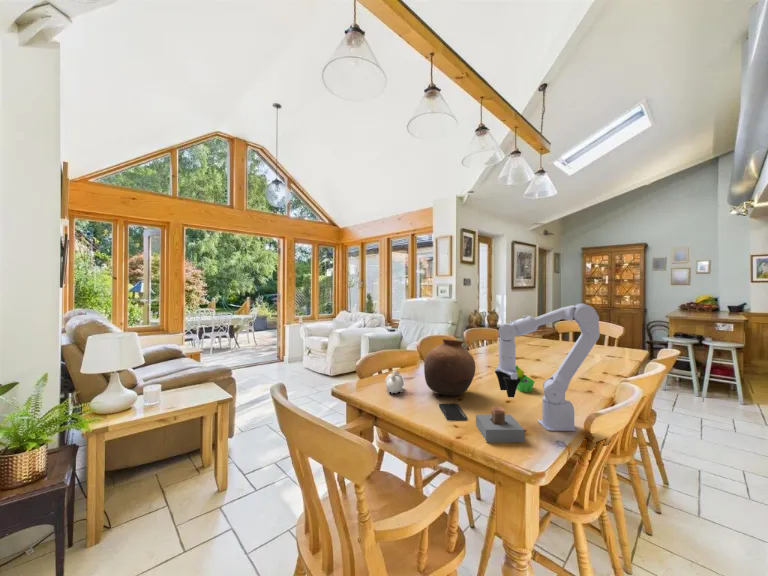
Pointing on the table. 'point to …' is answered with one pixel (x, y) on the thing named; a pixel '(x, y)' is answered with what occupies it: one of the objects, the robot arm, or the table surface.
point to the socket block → (500, 429)
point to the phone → (452, 411)
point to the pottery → (449, 368)
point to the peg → (498, 416)
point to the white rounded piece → (394, 382)
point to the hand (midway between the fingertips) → (507, 393)
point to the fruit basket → (524, 381)
